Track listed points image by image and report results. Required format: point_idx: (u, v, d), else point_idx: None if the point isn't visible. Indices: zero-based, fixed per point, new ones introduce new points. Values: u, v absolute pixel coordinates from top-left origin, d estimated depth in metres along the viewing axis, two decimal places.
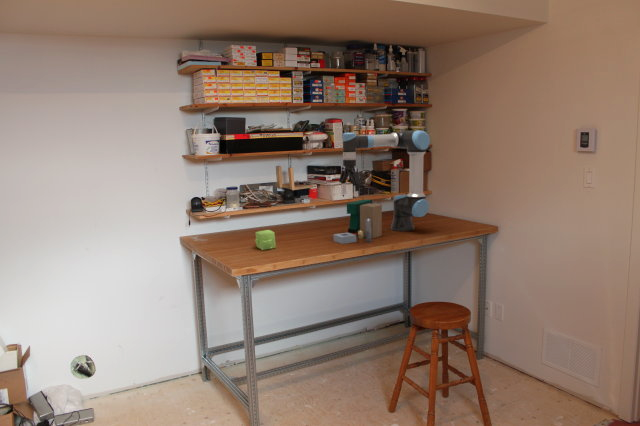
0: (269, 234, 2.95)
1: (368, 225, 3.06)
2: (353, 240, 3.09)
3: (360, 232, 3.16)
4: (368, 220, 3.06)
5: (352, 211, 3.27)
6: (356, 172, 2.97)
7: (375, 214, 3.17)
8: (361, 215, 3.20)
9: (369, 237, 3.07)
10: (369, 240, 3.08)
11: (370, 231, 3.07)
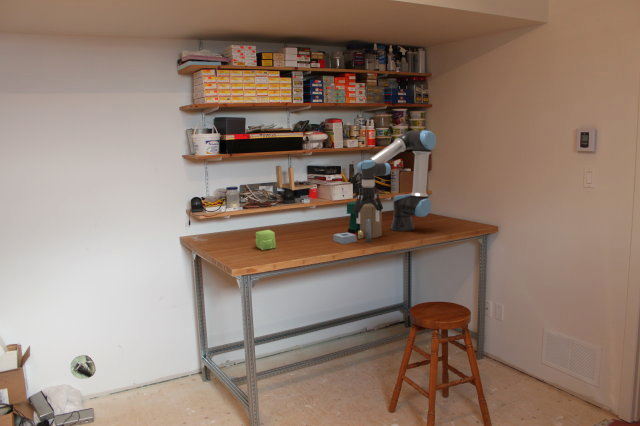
0: (269, 234, 2.95)
1: (368, 225, 3.06)
2: (353, 240, 3.09)
3: (360, 232, 3.16)
4: (368, 220, 3.06)
5: (352, 211, 3.27)
6: (358, 199, 3.01)
7: (375, 214, 3.17)
8: (361, 215, 3.20)
9: (369, 237, 3.07)
10: (369, 240, 3.08)
11: (370, 231, 3.07)
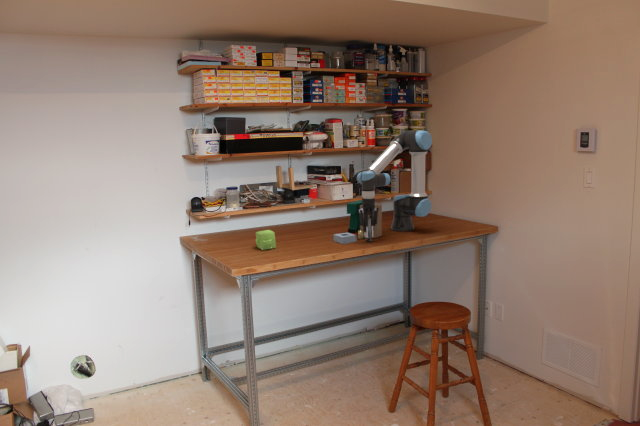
0: (269, 234, 2.95)
1: (368, 224, 3.06)
2: (353, 240, 3.09)
3: (360, 232, 3.16)
4: (368, 219, 3.06)
5: (352, 211, 3.27)
6: (360, 214, 3.04)
7: None
8: None
9: (369, 236, 3.08)
10: (369, 239, 3.08)
11: (370, 230, 3.07)
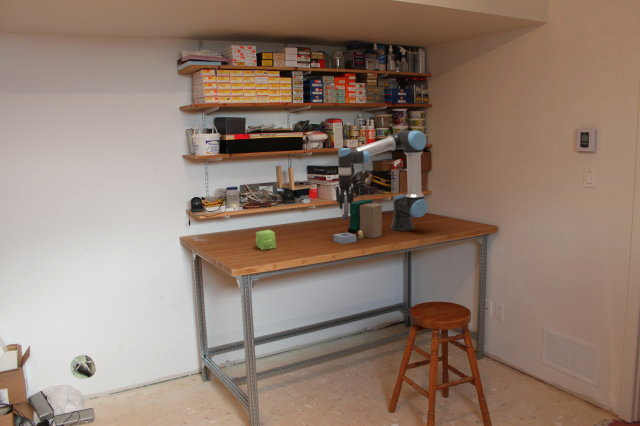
0: (269, 234, 2.95)
1: (345, 201, 3.06)
2: (353, 240, 3.09)
3: (360, 232, 3.16)
4: (345, 196, 3.06)
5: (352, 211, 3.27)
6: (336, 190, 3.04)
7: (375, 214, 3.17)
8: (361, 215, 3.20)
9: (346, 213, 3.07)
10: (346, 216, 3.08)
11: (347, 207, 3.07)
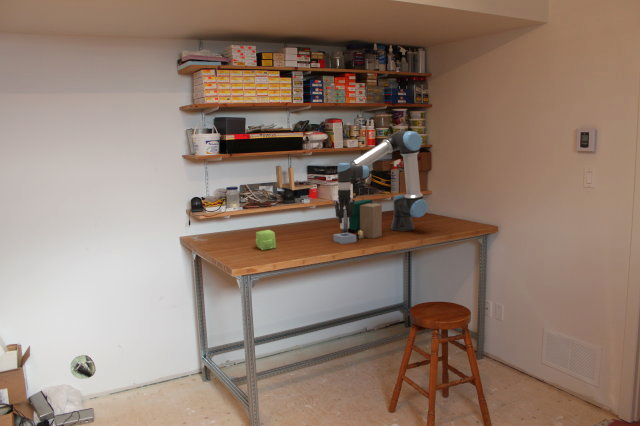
0: (269, 234, 2.95)
1: (344, 215, 3.08)
2: (353, 240, 3.09)
3: (360, 232, 3.16)
4: (344, 210, 3.07)
5: None
6: (336, 205, 3.05)
7: (375, 214, 3.17)
8: (361, 215, 3.20)
9: (345, 227, 3.09)
10: (345, 230, 3.09)
11: (346, 221, 3.09)
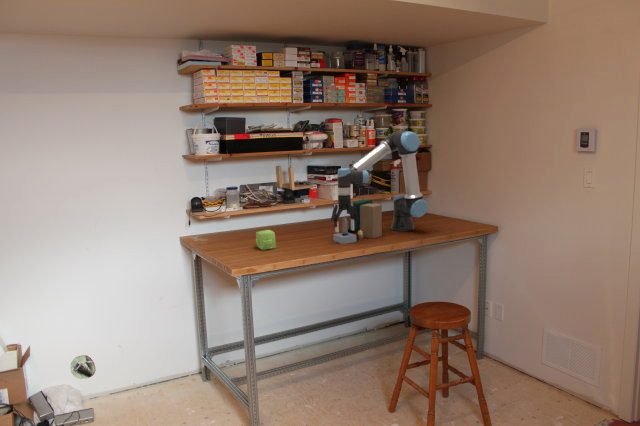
0: (269, 234, 2.95)
1: (345, 225, 3.09)
2: (353, 240, 3.09)
3: (360, 232, 3.16)
4: (345, 220, 3.08)
5: (352, 211, 3.27)
6: (334, 208, 3.05)
7: (375, 214, 3.17)
8: (361, 215, 3.20)
9: None
10: None
11: (347, 231, 3.10)
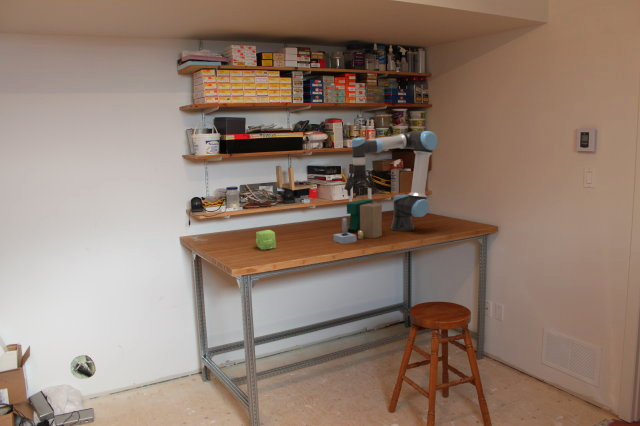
0: (269, 234, 2.95)
1: (344, 225, 3.09)
2: (353, 240, 3.09)
3: (360, 232, 3.16)
4: (344, 220, 3.08)
5: (352, 211, 3.27)
6: (349, 177, 3.03)
7: (375, 214, 3.17)
8: (361, 215, 3.20)
9: None
10: None
11: (346, 231, 3.10)
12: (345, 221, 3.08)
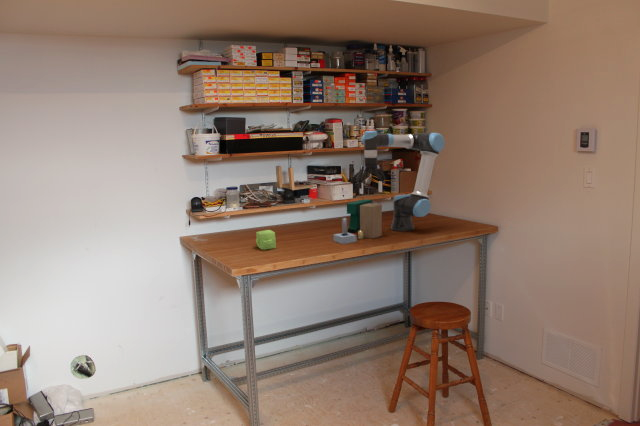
0: (269, 234, 2.95)
1: (344, 225, 3.09)
2: (353, 240, 3.09)
3: (360, 232, 3.16)
4: (344, 220, 3.08)
5: (352, 211, 3.27)
6: (360, 170, 3.03)
7: (375, 214, 3.17)
8: (361, 215, 3.20)
9: None
10: None
11: (346, 231, 3.10)
12: (345, 221, 3.08)
